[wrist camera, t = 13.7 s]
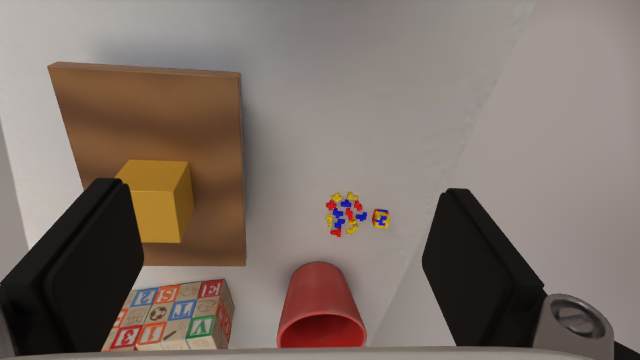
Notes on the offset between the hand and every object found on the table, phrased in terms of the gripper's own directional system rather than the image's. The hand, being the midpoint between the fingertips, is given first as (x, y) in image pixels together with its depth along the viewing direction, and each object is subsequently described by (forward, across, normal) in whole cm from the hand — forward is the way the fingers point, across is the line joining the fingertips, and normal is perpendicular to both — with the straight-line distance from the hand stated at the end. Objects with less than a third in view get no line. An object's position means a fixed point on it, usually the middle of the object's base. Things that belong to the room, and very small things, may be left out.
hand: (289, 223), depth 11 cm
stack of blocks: (+28, +18, +36) cm, 50 cm away
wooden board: (+21, +11, +11) cm, 26 cm away
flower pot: (+28, -5, +32) cm, 43 cm away
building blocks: (+28, -9, +20) cm, 36 cm away
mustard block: (+20, +11, +11) cm, 25 cm away
